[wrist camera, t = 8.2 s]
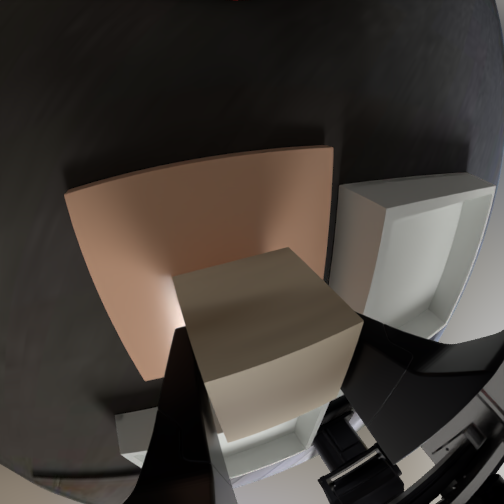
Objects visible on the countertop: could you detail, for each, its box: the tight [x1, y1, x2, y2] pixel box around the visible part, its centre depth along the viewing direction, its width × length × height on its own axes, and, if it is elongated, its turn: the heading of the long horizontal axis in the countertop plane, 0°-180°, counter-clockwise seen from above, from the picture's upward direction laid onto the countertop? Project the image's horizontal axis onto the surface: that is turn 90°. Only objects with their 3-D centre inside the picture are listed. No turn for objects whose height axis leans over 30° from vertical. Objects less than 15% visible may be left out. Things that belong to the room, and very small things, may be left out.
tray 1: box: [115, 395, 329, 479], centre depth 18 cm, size 14×14×3 cm
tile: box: [64, 145, 333, 381], centre depth 11 cm, size 10×10×1 cm
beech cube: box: [172, 247, 364, 443], centre depth 8 cm, size 4×4×4 cm
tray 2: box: [328, 172, 496, 398], centre depth 16 cm, size 14×14×3 cm
